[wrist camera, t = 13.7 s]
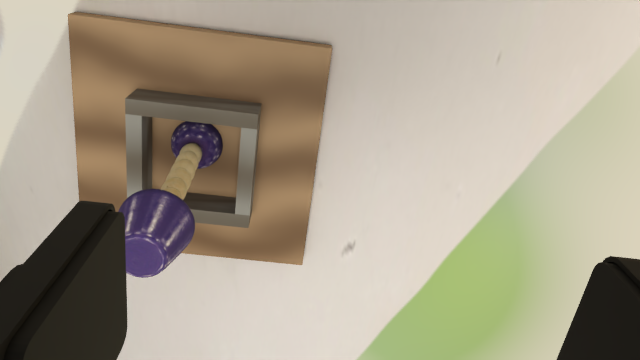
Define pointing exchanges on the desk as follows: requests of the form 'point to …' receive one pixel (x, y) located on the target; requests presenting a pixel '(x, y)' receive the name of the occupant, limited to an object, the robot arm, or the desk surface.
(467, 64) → the desk surface
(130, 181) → the socket board
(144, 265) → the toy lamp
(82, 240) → the robot arm
